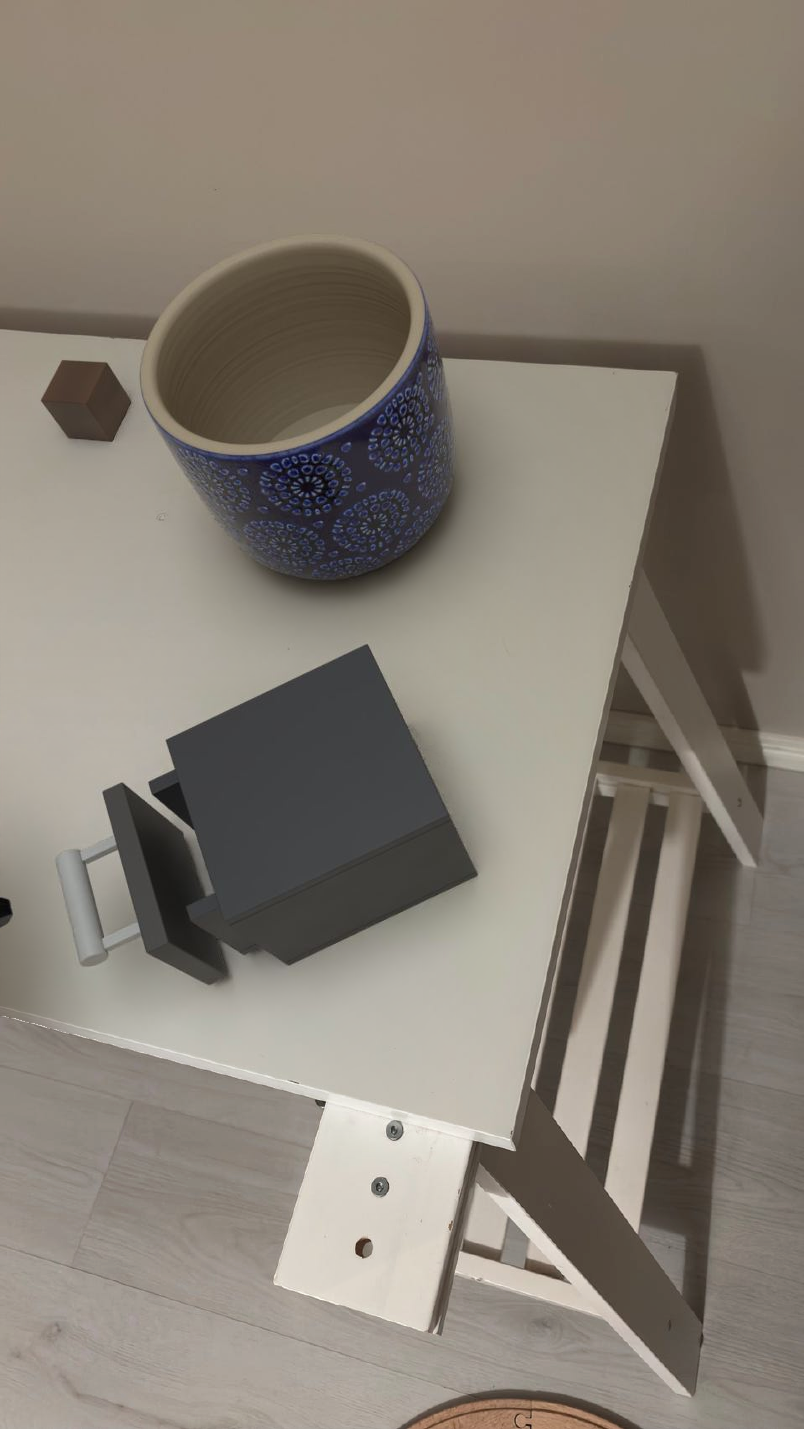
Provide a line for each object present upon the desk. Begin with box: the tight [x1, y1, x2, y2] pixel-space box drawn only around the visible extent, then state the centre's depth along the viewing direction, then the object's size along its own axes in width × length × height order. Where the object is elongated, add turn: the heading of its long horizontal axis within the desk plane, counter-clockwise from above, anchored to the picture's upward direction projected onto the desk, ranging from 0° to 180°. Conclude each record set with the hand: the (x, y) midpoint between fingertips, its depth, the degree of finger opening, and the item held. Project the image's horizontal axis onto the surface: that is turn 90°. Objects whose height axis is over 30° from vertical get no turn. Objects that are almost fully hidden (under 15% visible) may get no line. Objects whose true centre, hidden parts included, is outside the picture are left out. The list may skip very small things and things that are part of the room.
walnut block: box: [40, 359, 132, 442], centre depth 74 cm, size 4×4×4 cm
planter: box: [139, 232, 457, 581], centre depth 60 cm, size 16×16×15 cm
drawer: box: [54, 768, 262, 986], centre depth 52 cm, size 14×9×8 cm, turn 113°
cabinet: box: [165, 643, 479, 966], centre depth 52 cm, size 11×10×9 cm
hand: (9, 911), depth 48 cm, fingers closed
